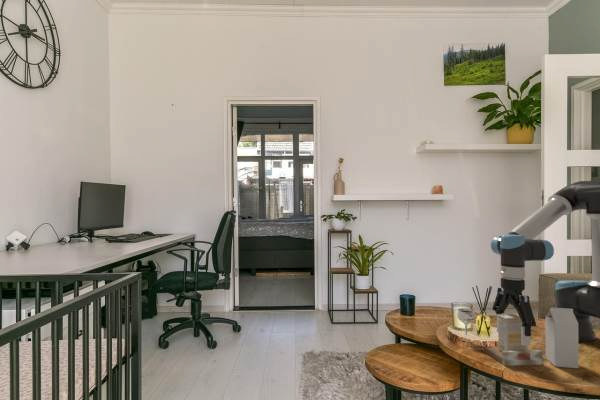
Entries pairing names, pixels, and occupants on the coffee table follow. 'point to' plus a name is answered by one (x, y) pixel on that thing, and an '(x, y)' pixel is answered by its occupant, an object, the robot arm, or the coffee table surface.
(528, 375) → the coffee table surface
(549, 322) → the milk carton
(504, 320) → the supplement box
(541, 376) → the coffee table surface
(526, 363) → the grey flat box
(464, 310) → the wineglass
